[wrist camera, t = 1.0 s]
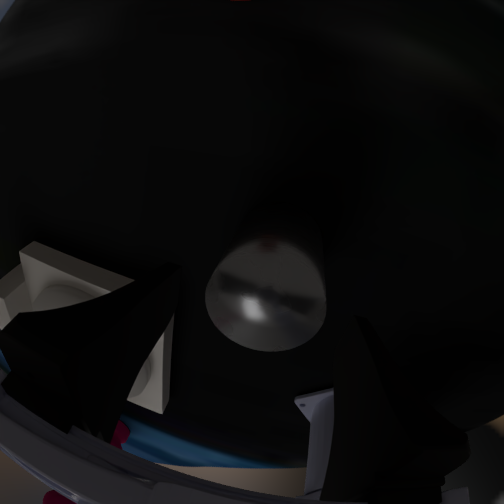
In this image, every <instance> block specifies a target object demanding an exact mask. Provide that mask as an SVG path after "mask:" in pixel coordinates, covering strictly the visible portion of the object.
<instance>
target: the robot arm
mask: <svg viewBox="0 0 504 504" xmlns="http://www.w3.org/2000/svg"><path fill="white" fill-rule="evenodd" d="M181 270H182V266H180V265H176V264H173V263H170V262H167V263H165V264H164V265H162V266H160V267H158V268H156V269H155V270H153V271H151V272H149V273H147V274H146V275H144V276H142V277H140V278H138V279H137V280H135V281H133V282H131V283H129V284H127V285H125V286H123V287H121V288H118V289H116V290H114V291H112V292H110V293H107V294H105V295H102V296H100V297H97V298H94V299H91V300H88V301H84V302H81V303H77V304H74V305H70V306H66V307H61V308H56V309H50V310H43V311H33V312H19V313H18V314H17V315H16V316H15V317H14V318H13V319H12V320H11V321H10V322H9V323H8V324H7V325H6V326H5V327H4V328H3V329H2V330H1V331H0V349H1V351H2V353H3V355H4V357H5V359H6V361H7V363H8V365H9V367H10V369H11V372H10V373H9V374H8V375H6V374H5V373H4V372H3V371H2V370H1V369H0V450H1V451H2V452H3V453H5V454H6V455H7V456H8V457H9V458H11V459H12V460H13V461H14V462H16V463H17V464H19V465H20V466H21V467H22V468H24V469H25V470H26V471H28V472H29V473H30V474H32V475H33V476H35V477H36V478H37V479H39V480H40V481H42V482H43V483H45V484H46V485H48V486H49V487H51V488H52V489H54V490H55V491H57V492H59V493H60V494H62V495H63V496H65V497H67V498H68V499H70V500H72V501H73V502H75V503H77V504H470V500H469V492H468V487H462V488H456V489H450V490H446V491H443V492H441V486H443V485H444V484H445V478H444V476H445V475H447V474H449V473H450V472H452V471H453V470H455V469H456V468H458V467H459V466H461V465H462V464H463V463H464V462H466V460H467V459H468V458H469V456H470V454H471V450H470V445H469V440H468V436H467V434H466V433H464V432H463V431H462V430H460V429H459V428H457V427H456V426H455V425H453V424H452V423H450V422H449V421H448V420H447V419H446V418H444V417H443V416H442V415H441V414H440V413H438V412H437V411H436V410H435V409H434V408H433V407H432V406H431V405H430V404H429V403H428V402H427V401H426V400H425V399H424V398H423V397H422V396H421V395H420V394H419V392H418V391H417V390H416V389H415V388H414V387H413V385H412V384H411V383H410V382H409V381H408V379H407V378H406V377H405V375H404V374H403V373H402V371H401V370H400V369H399V367H398V366H397V364H396V363H395V361H394V360H393V358H392V357H391V355H390V354H389V352H388V351H387V349H386V348H385V346H384V344H383V343H382V341H381V339H380V338H379V336H378V335H377V333H376V331H375V330H374V328H373V327H372V325H371V323H370V322H369V321H368V319H367V318H364V317H360V316H356V315H354V316H353V317H352V319H351V321H350V323H349V325H348V327H347V328H346V330H345V332H344V334H343V335H342V337H341V339H340V341H339V342H338V344H337V346H336V348H335V352H334V362H333V388H330V389H326V390H322V391H317V392H313V393H309V394H304V395H300V396H297V397H295V404H296V405H297V406H298V407H299V409H300V410H301V411H302V413H303V414H304V415H305V416H306V418H307V419H308V420H309V421H310V423H311V427H310V440H309V451H308V462H307V472H306V481H305V491H304V496H296V498H291V497H283V496H277V495H270V494H265V493H259V492H254V491H249V490H244V489H239V488H235V487H231V486H226V485H222V484H219V483H215V482H211V481H207V480H204V479H200V478H197V477H194V476H190V475H187V474H184V473H181V472H178V471H175V470H172V469H169V468H166V467H164V466H161V465H158V464H155V463H153V462H150V461H148V460H145V459H143V458H140V457H138V456H135V455H133V454H131V453H128V452H126V451H124V450H122V449H119V448H117V447H115V446H113V445H111V444H110V443H111V440H112V437H113V435H114V432H115V429H116V426H117V423H118V421H119V418H120V415H121V413H122V410H123V408H124V405H125V403H126V401H127V398H128V396H129V394H130V391H131V389H132V387H133V385H134V382H135V380H136V378H137V376H138V374H139V372H140V370H141V368H142V366H143V364H144V362H145V361H146V359H147V358H148V356H149V354H150V353H151V351H152V350H153V348H154V347H155V345H156V343H157V342H158V340H159V339H160V337H161V336H162V334H163V332H164V331H165V329H166V328H167V326H168V324H169V322H170V320H171V318H172V316H173V314H174V312H175V310H176V307H177V305H178V298H179V288H180V279H181Z"/></svg>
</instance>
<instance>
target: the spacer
mask: <svg viewBox="0 0 504 504" xmlns="http://www.w3.org/2000/svg"><path fill="white" fill-rule="evenodd" d="M205 301H206V307H207V310H208V313H209V315H210V317H211V319H212V321H213V322H214V324H215V325H216V327H217V328H218V329H219V330H220V331H221V332H222V333H223V334H224V335H226V336H227V337H228V338H230V339H231V340H233V341H234V342H236V343H238V344H240V345H243V346H245V347H248V348H251V349H255V350H261V351H283V350H288V349H291V348H294V347H297V346H299V345H301V344H303V343H305V342H306V341H308V340H309V339H311V338H312V337H313V336H314V335H315V334H316V333H317V332H318V330H319V329H320V327H321V326H322V324H323V321H324V318H325V315H326V289H325V270H324V255H323V241H322V235H321V232H320V229H319V227H318V225H317V223H316V222H315V221H314V219H313V218H312V217H311V216H310V215H309V214H308V213H306V212H305V211H304V210H302V209H300V208H298V207H296V206H294V205H290V204H286V203H269V204H265V205H262V206H259V207H257V208H255V209H254V210H252V211H251V212H249V213H248V214H247V215H246V216H245V218H244V219H243V220H242V222H241V223H240V225H239V227H238V229H237V231H236V233H235V234H234V236H233V238H232V240H231V242H230V244H229V245H228V247H227V249H226V251H225V253H224V255H223V256H222V258H221V260H220V262H219V264H218V266H217V267H216V269H215V271H214V273H213V275H212V277H211V279H210V281H209V282H208V285H207V288H206V294H205Z"/></svg>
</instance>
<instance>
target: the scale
mask: <svg viewBox="0 0 504 504" xmlns="http://www.w3.org/2000/svg"><path fill="white" fill-rule="evenodd" d="M19 254H20V259H21V264H19V265H18V266H17V267H15V268H14V269H13V270H12V271H10V272H9V273H8V274H7V275H5V276H4V277H3V278H2V279H1V280H0V329H1V330H2V329H3V328H4V327H5V326H6V325H7V324H8V323H9V322H10V321H11V320H12V319H13V318H14V317H15V316H16V315H17V314H18V313H19V312H33V311H43V310H50V309H56V308H61V307H66V306H70V305H74V304H77V303H81V302H84V301H88V300H91V299H94V298H97V297H100V296H102V295H105V294H107V293H110V292H112V291H114V290H116V289H118V288H121V287H123V286H125V285H127V284H129V283H131V282H133V281H135V280H133V279H130V278H128V277H125V276H122V275H119V274H117V273H114V272H111V271H109V270H106V269H103V268H101V267H98V266H95V265H93V264H90V263H88V262H85V261H82V260H80V259H77V258H75V257H72V256H70V255H67V254H65V253H62V252H60V251H57V250H55V249H53V248H50V247H48V246H45V245H43V244H41V243H38V242H36V241H33V242H32V243H30V244H29V245H27V246H26V247H24V248H23V249H22V250H20V251H19ZM173 324H174V314H173V316H172V318H171V320H170V322H169V324H168V326H167V328H166V329H165V331H164V332H163V334H162V336H161V337H160V339H159V340H158V342H157V343H156V345H155V347H154V348H153V350H152V351H151V353H150V354H149V356H148V358H147V359H146V361H145V362H144V364H143V366H142V368H141V370H140V372H139V374H138V376H137V378H136V380H135V382H134V385H133V387H132V389H131V391H130V394H129V396H128V398H127V400H128V401H130V402H133V403H135V404H137V405H140V406H142V407H145V408H147V409H150V410H152V411H155V412H157V413H160V414H163V412H164V410H165V407H166V405H167V403H168V401H169V389H170V368H171V351H172V337H173Z"/></svg>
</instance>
